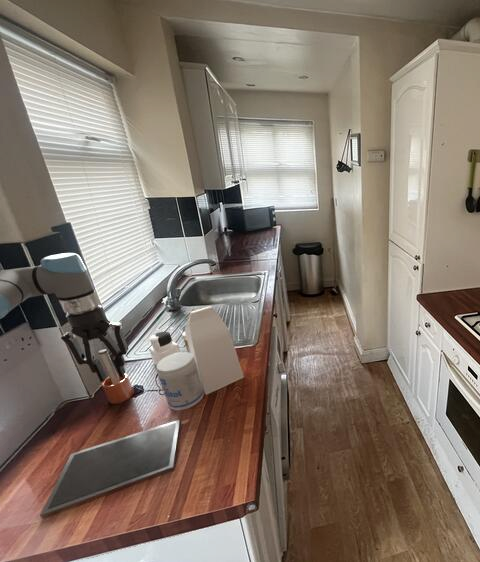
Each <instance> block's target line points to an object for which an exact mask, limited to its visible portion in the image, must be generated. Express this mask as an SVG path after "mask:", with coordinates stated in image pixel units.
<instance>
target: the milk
mask: <svg viewBox="0 0 480 562" xmlns="http://www.w3.org/2000/svg"><path fill="white" fill-rule="evenodd" d="M184 332H185V333H186V337H187V341H188V345H189V349H190V353H191V354H192V355H193V357H194V359H195V362H196V366H197V369H198V373H199V376H200V380H201V384H202V387H203V391H204V395H205V396H208V395H209V394H211V393H214V392H216V391H219V390H220V389H223V388H224V387H227V386H229V385H231V384H233V383H235V382H237V381H239V380H242V379H244V378H245V376H244V373H243V370H242V365H241V363H240V359H239V357H238V353H237V350H236V347H235V344H234V341H233V338H232V334H231V332H230V330H229V328H228V326H227V324H226V323H225V322H224V320H223V318H222V317H221V316H220V314H219V313H218V312H217V311H216V310H215V308H214V307H213V306H211V305H209V306H205V307H201V308H199V309H196V310H192V311H190V312H189V316H188V320H187V323H186V325H185V328H184Z"/></svg>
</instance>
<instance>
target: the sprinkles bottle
mask: <svg viewBox="0 0 480 562" xmlns="http://www.w3.org/2000/svg"><path fill="white" fill-rule="evenodd" d="M181 338H182V340H183V341H184V344H185V348H186V352H189V353H190V349H189V345H188V341H187V337H186V333H185V331H183V332H182V333H181Z"/></svg>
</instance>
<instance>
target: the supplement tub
mask: <svg viewBox="0 0 480 562" xmlns="http://www.w3.org/2000/svg"><path fill="white" fill-rule="evenodd" d="M156 372H157V377H158V379H159V382H160V385H161V388H162V390H163V394H164V396H165V399H166V402H167V405H168V407H169V408H170V409H171V410H172V411H184V410H187V409H190V408H192V407H194V406H196V405H197V404H199V403H200V402H201V401H202V400H203V398H204V395H205V392H204V391H203V387H202V384H201V380H200V376H199V373H198V369H197V366H196V362H195V359H194V357H193V355H192V354H191V353H189V352H187V351H180V352H179V353H175V354H172V355H169V356H167V357H165V358H164V359H162V360H161V361H160V362H159V363H158V364H157V366H156Z"/></svg>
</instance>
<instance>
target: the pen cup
mask: <svg viewBox="0 0 480 562" xmlns="http://www.w3.org/2000/svg"><path fill="white" fill-rule="evenodd" d="M117 375H118V377H119V380H120V382H119V383H116V384H114V385H113V383H112V381H111V379H110V376H107V377H106V379H105V381H104V382H101V386H102V389H103V390H104V393H105V395H106V397H107V399H108V402H109V403H110V404H120V403H123V402H125V401H128V400H129V399H130V398H132V397H133V395H134V394H135V390H134V388H133V385H132V382H131V380H130V378H129V376H128V374H127V373H126V372H125V374H124V376H123V377H120V376H119V373H117Z"/></svg>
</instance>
